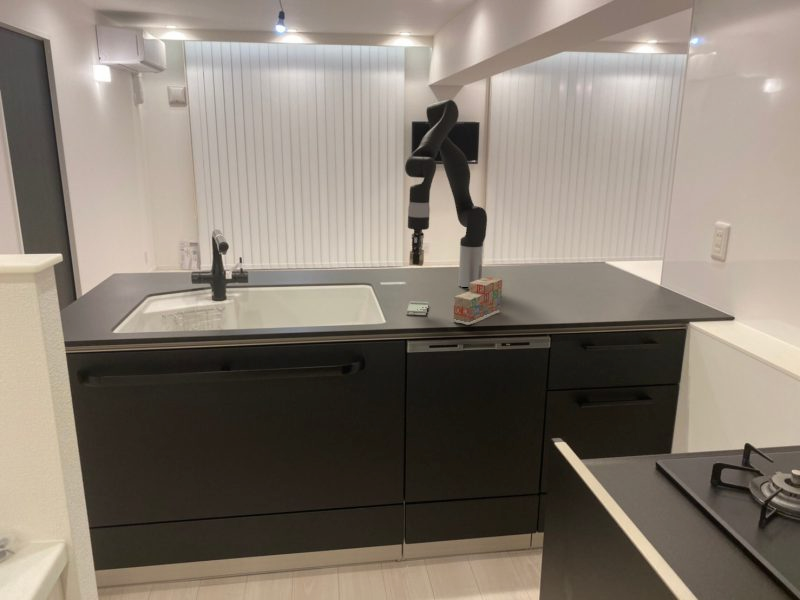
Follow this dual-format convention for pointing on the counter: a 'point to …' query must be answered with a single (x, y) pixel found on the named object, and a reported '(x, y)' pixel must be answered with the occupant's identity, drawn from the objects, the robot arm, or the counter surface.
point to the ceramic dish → (417, 307)
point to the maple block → (421, 258)
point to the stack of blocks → (478, 299)
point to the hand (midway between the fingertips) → (416, 262)
